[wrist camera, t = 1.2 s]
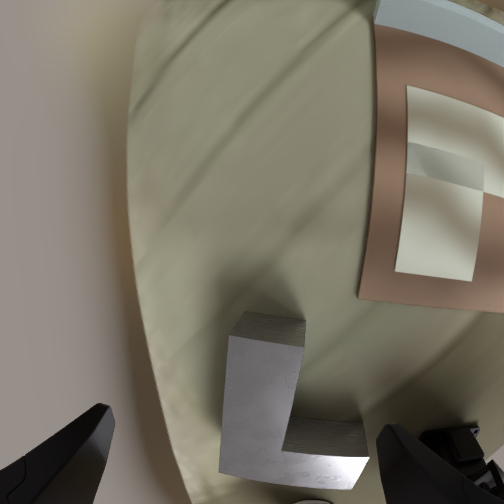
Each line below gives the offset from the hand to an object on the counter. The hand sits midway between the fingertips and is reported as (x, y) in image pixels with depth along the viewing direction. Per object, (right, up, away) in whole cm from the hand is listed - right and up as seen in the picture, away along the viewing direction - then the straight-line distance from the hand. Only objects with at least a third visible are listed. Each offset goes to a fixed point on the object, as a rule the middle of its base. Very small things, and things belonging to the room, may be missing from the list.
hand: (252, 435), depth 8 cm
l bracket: (+4, -5, +11) cm, 13 cm away
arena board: (+17, +11, +7) cm, 22 cm away
